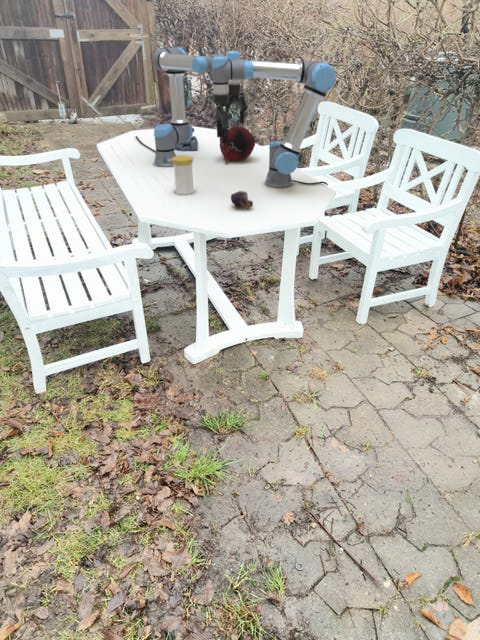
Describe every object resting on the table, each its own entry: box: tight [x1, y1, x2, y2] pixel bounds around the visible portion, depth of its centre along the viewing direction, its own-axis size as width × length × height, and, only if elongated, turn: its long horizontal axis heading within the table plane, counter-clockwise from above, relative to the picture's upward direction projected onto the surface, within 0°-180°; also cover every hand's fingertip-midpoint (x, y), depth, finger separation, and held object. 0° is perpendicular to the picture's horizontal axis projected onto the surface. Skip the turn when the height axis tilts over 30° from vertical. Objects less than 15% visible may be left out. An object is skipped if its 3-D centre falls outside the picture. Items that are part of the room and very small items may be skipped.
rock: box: [230, 190, 254, 209], centre depth 225 cm, size 12×9×10 cm
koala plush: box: [174, 121, 199, 151], centre depth 321 cm, size 17×18×20 cm
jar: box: [173, 163, 195, 196], centre depth 243 cm, size 10×10×18 cm
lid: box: [172, 155, 194, 165], centre depth 239 cm, size 11×11×2 cm
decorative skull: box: [219, 126, 257, 165], centre depth 296 cm, size 21×24×25 cm
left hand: (234, 125), depth 259 cm, fingers open, 13 cm apart
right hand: (222, 140), depth 229 cm, fingers open, 13 cm apart
